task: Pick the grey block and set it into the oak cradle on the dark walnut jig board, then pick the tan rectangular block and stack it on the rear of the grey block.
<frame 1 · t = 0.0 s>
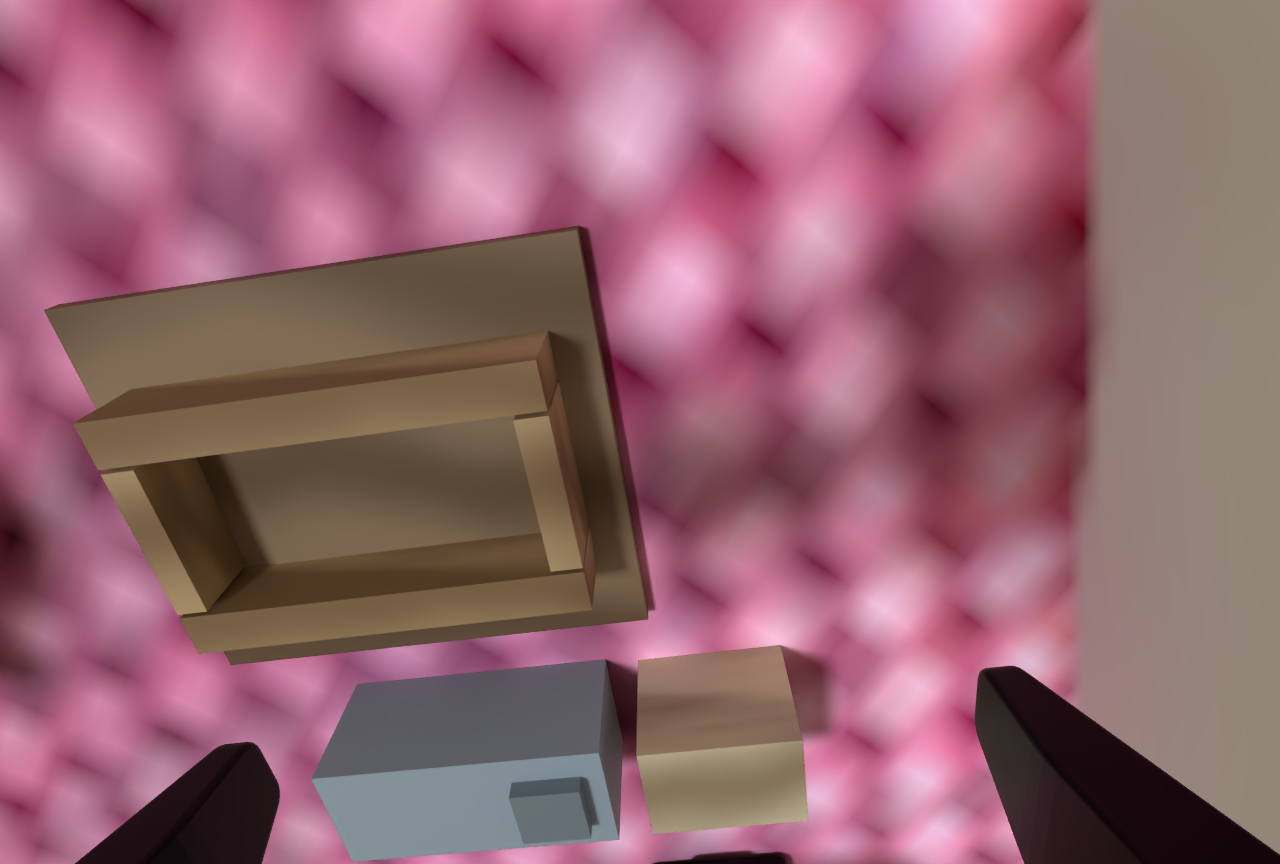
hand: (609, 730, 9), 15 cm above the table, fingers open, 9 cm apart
jig: (383, 471, 24), on the table
tan rectangular block: (713, 689, 29), on the table
grey block: (493, 709, 29), on the table
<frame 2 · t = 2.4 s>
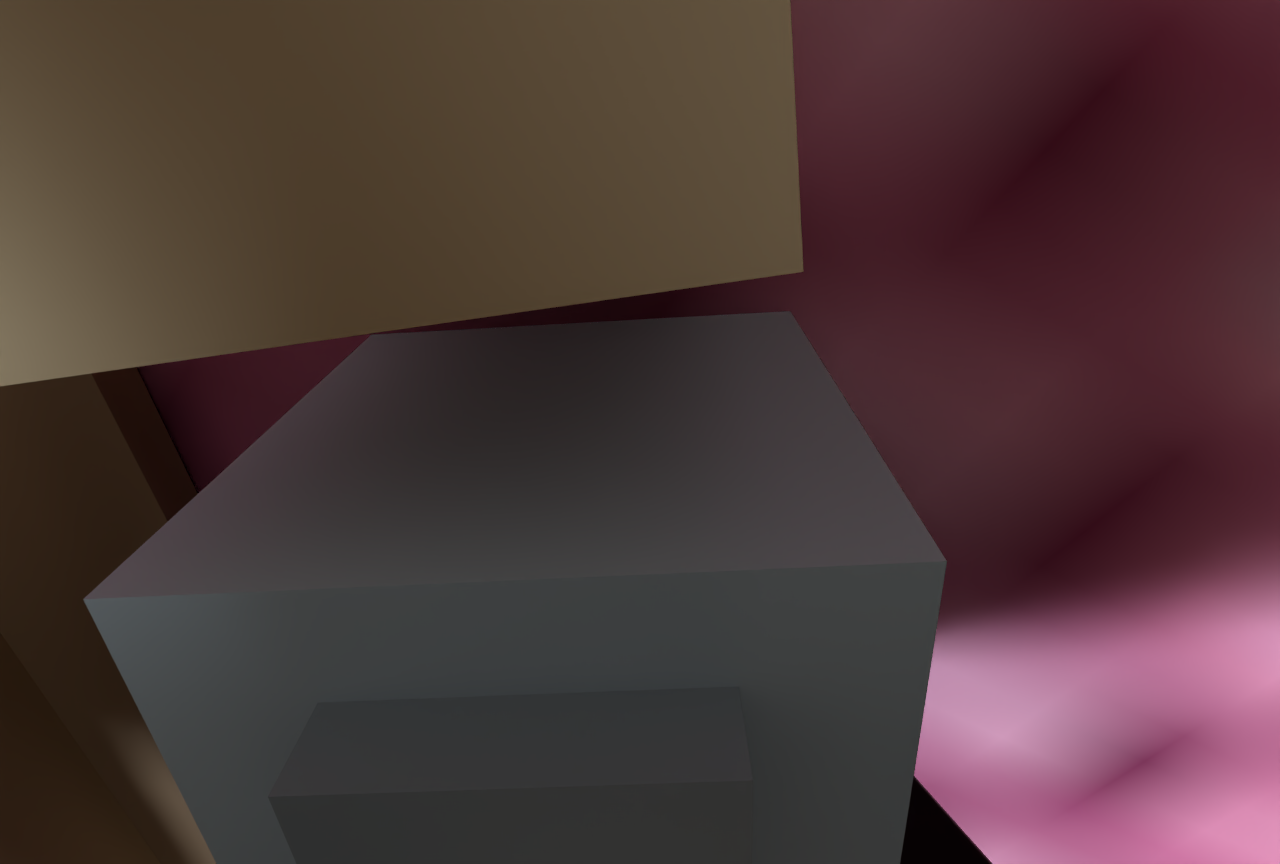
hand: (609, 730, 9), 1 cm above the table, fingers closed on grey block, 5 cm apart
grey block: (614, 668, 10), on the table, touching gripper
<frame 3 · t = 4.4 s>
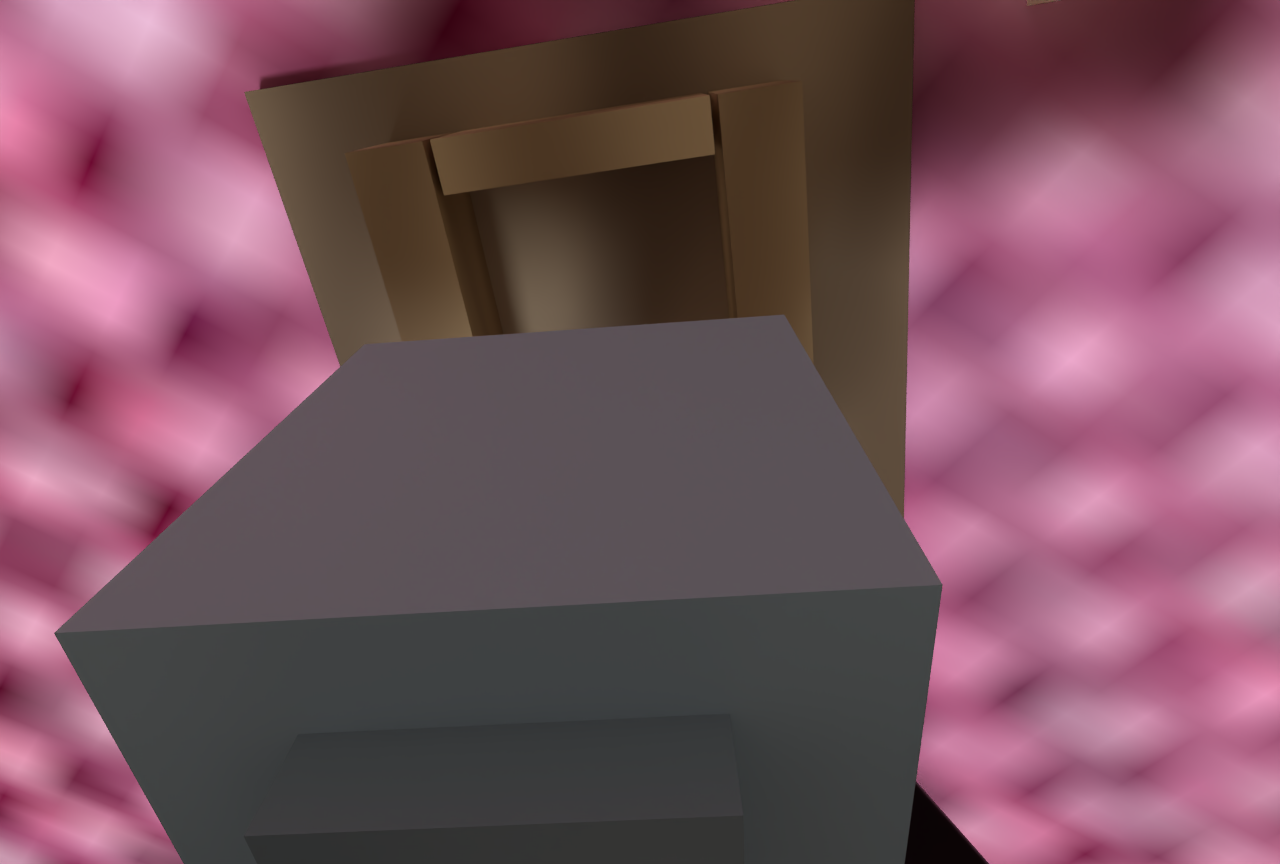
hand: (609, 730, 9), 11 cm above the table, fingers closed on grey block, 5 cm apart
jig: (627, 384, 19), on the table
grey block: (614, 679, 10), point 10 cm above the table, touching gripper
when the fingers open (4 cm above the table, at t = 6.0 s): grey block drops 2 cm, resting on jig.
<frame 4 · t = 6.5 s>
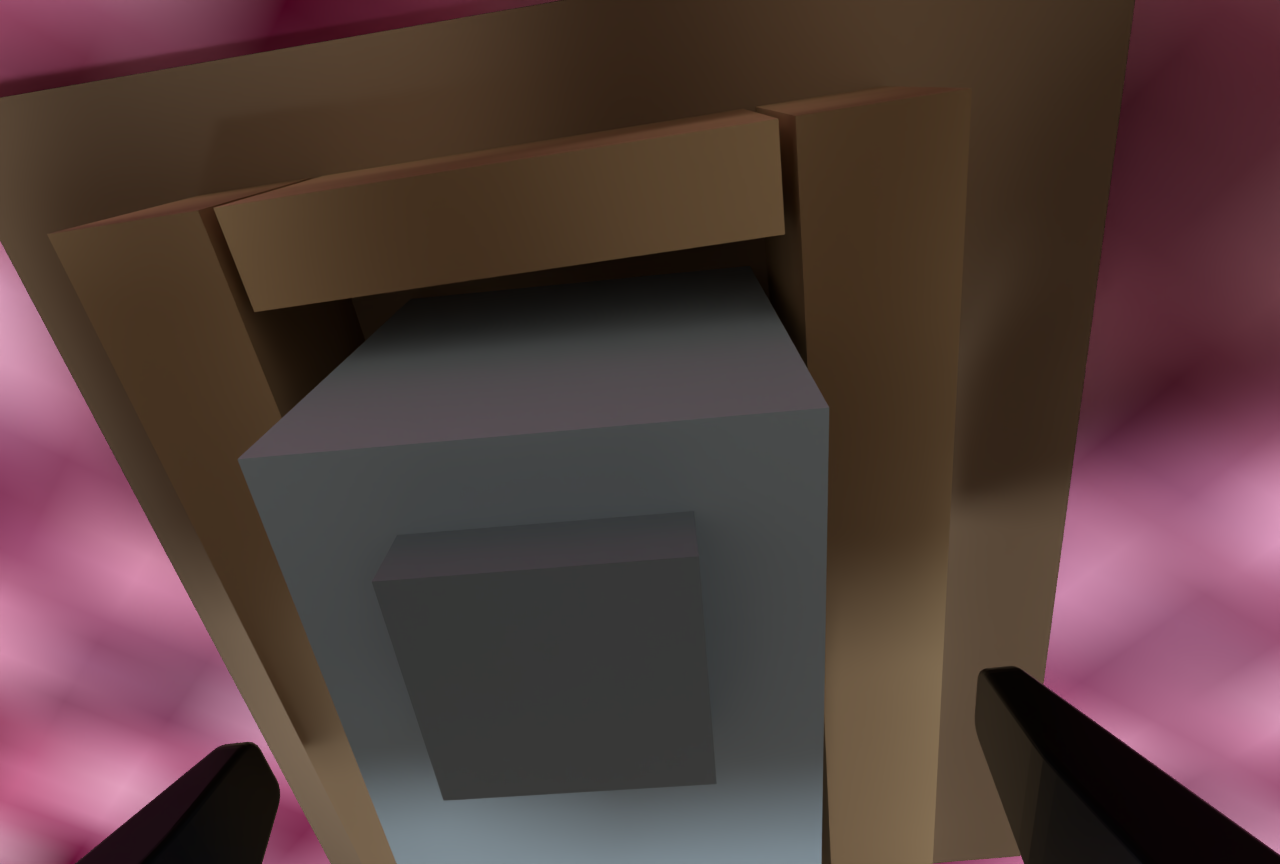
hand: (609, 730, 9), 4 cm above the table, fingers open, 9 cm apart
jig: (617, 556, 12), on the table
grey block: (620, 586, 12), point 1 cm above the table, touching jig
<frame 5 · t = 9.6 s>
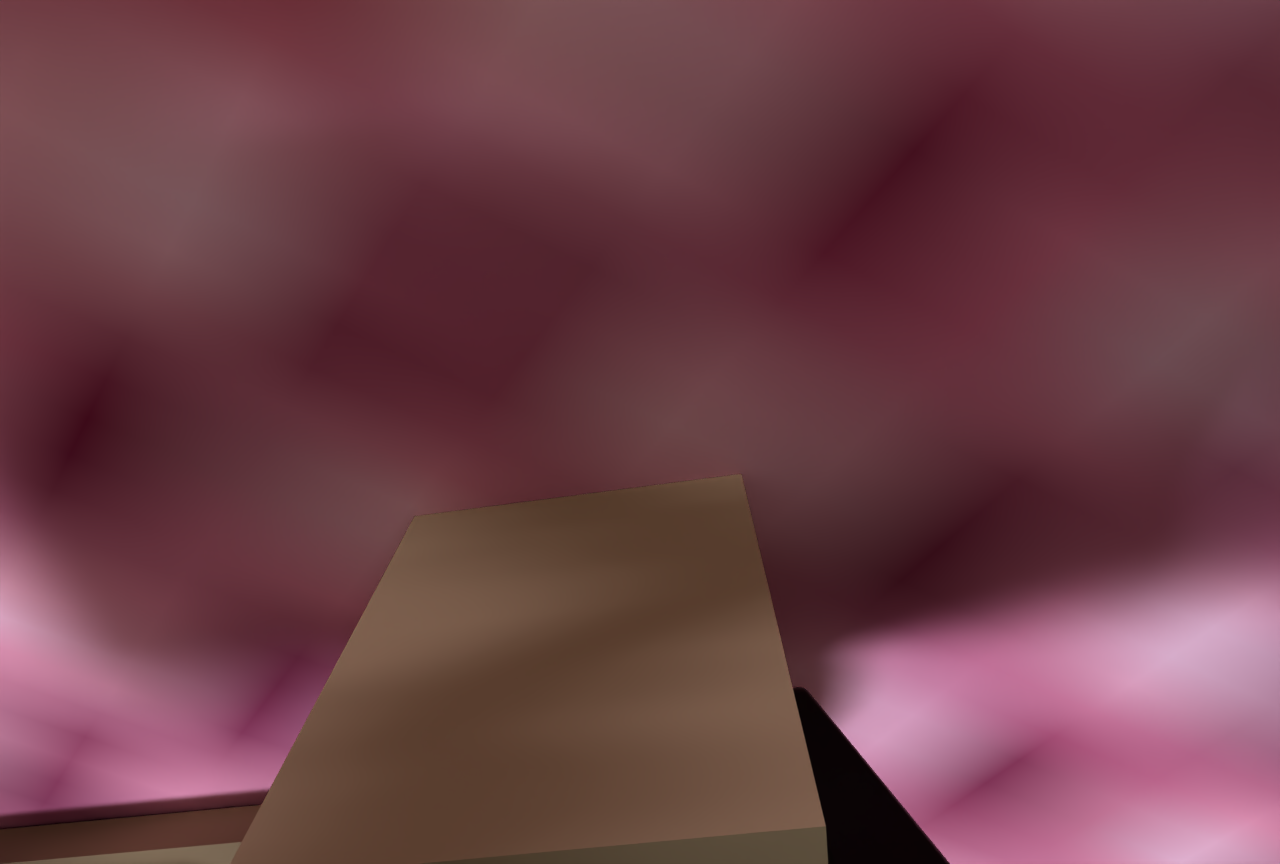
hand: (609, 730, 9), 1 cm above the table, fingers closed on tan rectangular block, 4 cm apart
tan rectangular block: (613, 662, 10), on the table, touching gripper
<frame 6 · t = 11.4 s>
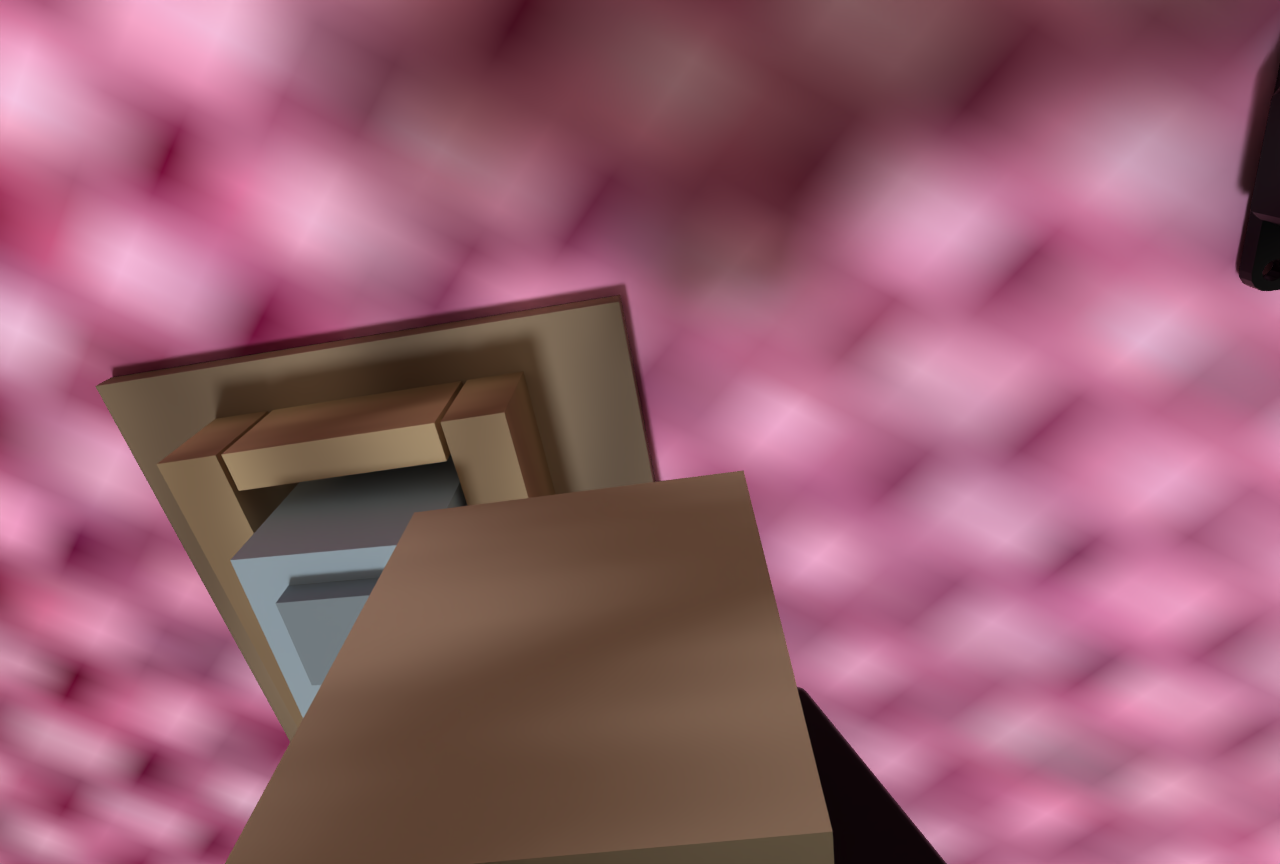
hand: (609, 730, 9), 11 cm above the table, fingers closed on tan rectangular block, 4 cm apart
jig: (444, 581, 22), on the table
tan rectangular block: (614, 664, 10), point 10 cm above the table, touching gripper
grey block: (442, 597, 22), point 1 cm above the table, touching jig
when the fingers open (7 cm above the table, at t = 13.2 s): tan rectangular block stays where it is, resting on grey block.
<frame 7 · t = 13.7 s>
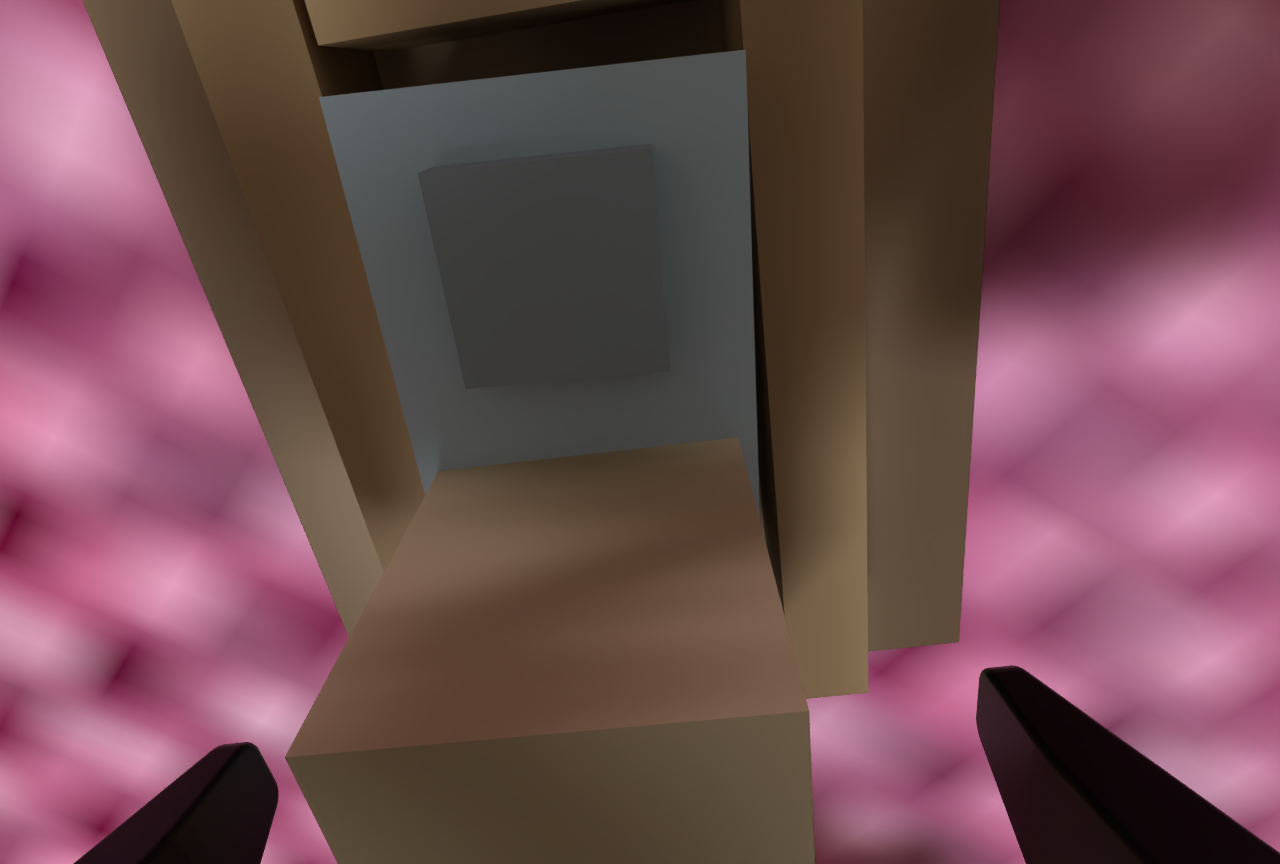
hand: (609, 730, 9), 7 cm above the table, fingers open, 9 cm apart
jig: (604, 349, 14), on the table
tan rectangular block: (616, 617, 11), point 5 cm above the table, touching grey block
grey block: (607, 367, 14), point 1 cm above the table, touching jig, tan rectangular block
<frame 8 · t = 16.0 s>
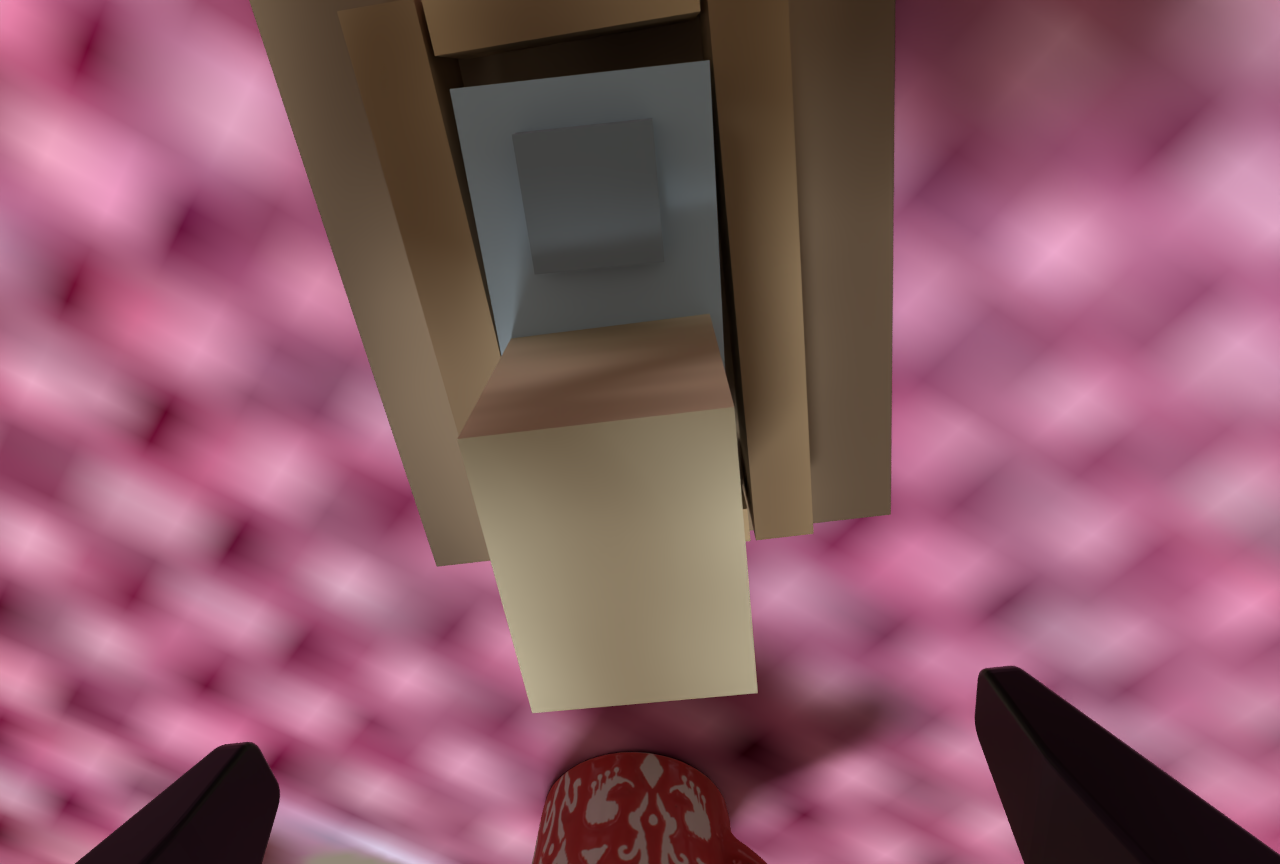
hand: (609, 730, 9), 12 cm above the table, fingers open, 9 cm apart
jig: (617, 279, 19), on the table
tan rectangular block: (628, 447, 15), point 5 cm above the table, touching grey block
mug: (676, 801, 28), on the table
grey block: (619, 291, 19), point 1 cm above the table, touching jig, tan rectangular block
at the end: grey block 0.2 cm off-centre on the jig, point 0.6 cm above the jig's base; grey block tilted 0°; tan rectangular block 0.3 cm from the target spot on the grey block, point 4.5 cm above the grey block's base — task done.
